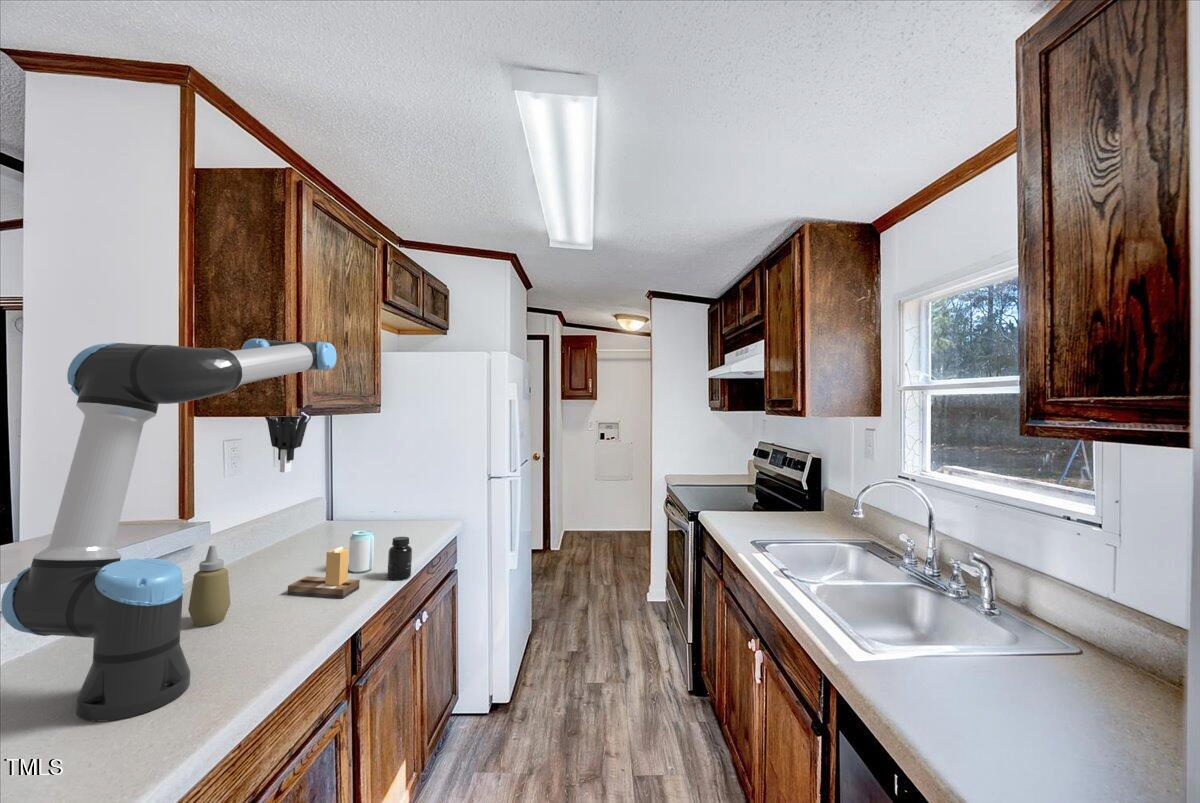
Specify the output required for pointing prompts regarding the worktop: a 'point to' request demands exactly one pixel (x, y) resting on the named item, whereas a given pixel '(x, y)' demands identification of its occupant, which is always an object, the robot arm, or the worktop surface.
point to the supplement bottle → (399, 559)
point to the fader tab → (337, 566)
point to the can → (361, 551)
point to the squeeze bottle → (210, 591)
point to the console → (322, 588)
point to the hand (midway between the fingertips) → (285, 471)
